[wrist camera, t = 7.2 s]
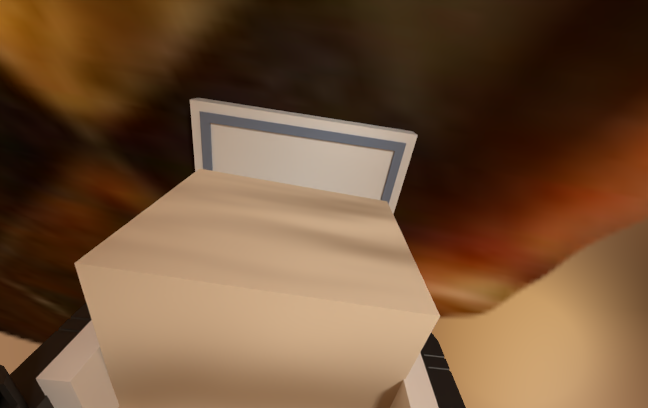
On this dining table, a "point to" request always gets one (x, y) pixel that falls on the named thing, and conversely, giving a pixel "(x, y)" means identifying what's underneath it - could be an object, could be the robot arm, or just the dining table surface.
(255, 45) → the dining table surface
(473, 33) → the dining table surface
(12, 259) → the dining table surface
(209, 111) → the board
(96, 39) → the dining table surface
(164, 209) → the birch block
